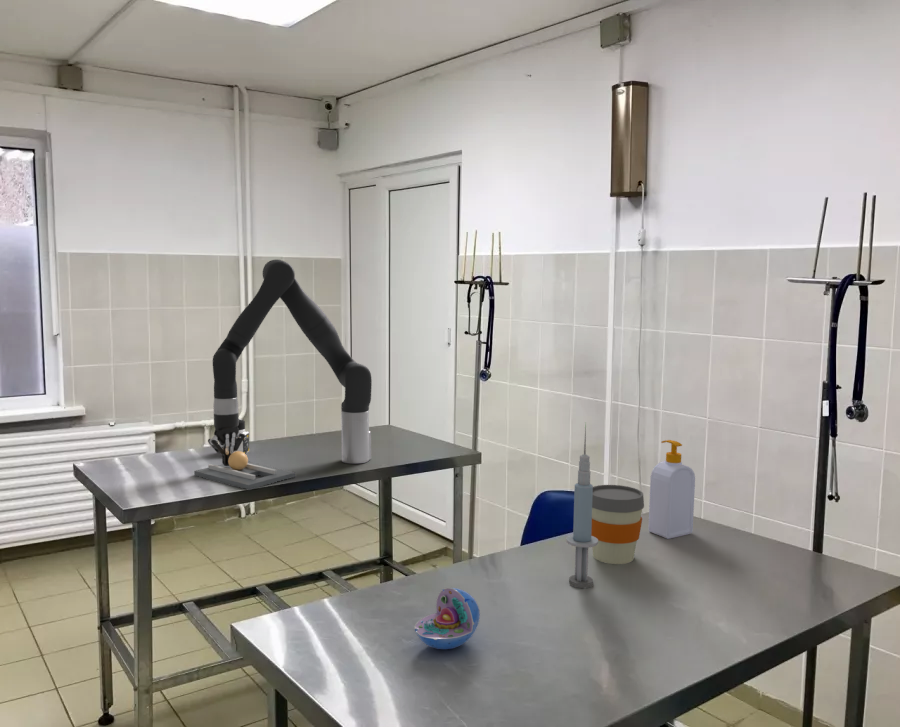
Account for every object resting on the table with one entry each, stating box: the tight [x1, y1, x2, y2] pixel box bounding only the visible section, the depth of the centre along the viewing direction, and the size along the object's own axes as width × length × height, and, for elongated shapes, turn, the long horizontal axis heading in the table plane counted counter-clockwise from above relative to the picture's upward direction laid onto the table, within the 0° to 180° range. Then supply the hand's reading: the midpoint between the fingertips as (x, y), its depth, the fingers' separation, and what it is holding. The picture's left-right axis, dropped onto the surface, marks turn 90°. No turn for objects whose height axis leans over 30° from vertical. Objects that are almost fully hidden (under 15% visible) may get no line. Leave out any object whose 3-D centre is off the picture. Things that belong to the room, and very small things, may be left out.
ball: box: [228, 451, 249, 470], centre depth 238 cm, size 6×6×6 cm
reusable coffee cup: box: [591, 484, 645, 565], centre depth 171 cm, size 13×13×15 cm
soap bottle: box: [648, 439, 696, 540], centre depth 187 cm, size 9×7×23 cm
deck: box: [193, 461, 296, 491], centre depth 237 cm, size 18×26×3 cm
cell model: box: [413, 587, 481, 650], centre depth 129 cm, size 10×12×10 cm
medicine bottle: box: [234, 418, 250, 454], centre depth 266 cm, size 7×7×12 cm
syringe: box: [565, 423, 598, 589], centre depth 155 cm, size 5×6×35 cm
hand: (227, 465), depth 242 cm, fingers closed
